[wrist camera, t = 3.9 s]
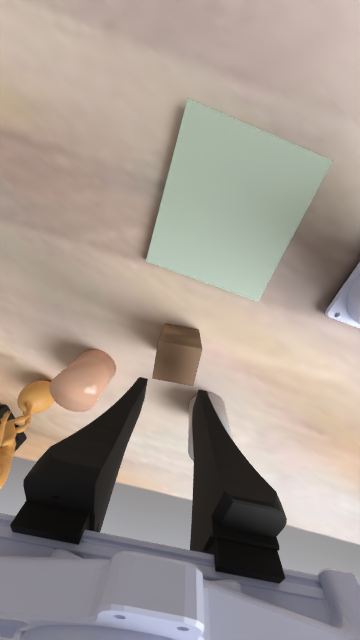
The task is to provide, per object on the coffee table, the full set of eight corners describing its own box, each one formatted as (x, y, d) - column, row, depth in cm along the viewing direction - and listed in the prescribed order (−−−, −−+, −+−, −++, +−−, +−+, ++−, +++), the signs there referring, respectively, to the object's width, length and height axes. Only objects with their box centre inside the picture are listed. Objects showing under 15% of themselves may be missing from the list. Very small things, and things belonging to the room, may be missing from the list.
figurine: (38, 358, 23) (-113, 457, 11) (81, 372, 23) (-22, 482, 12) (34, 401, 26) (-88, 515, 14) (73, 414, 26) (-16, 533, 15)
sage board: (323, 167, 14) (333, 160, 13) (254, 299, 18) (257, 302, 17) (187, 109, 13) (187, 97, 12) (148, 261, 17) (145, 261, 17)
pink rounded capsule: (119, 357, 22) (99, 384, 17) (111, 385, 24) (91, 417, 19) (81, 344, 22) (51, 368, 17) (76, 373, 23) (47, 403, 19)
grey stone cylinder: (230, 398, 23) (243, 444, 18) (215, 423, 25) (223, 471, 19) (196, 387, 23) (198, 430, 17) (183, 413, 25) (182, 459, 19)
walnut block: (198, 329, 20) (202, 348, 15) (192, 359, 21) (193, 385, 16) (165, 323, 20) (158, 340, 15) (160, 353, 21) (152, 378, 16)
